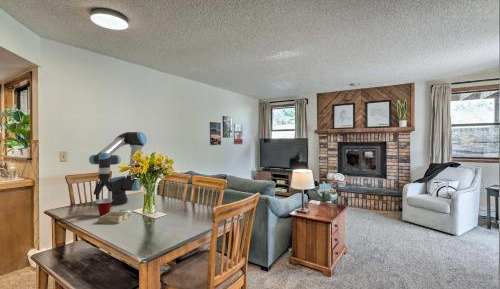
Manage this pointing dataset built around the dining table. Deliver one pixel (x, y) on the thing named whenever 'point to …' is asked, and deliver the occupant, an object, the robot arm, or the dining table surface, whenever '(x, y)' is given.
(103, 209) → the plastic cup
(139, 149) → the robot arm
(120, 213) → the maple open box
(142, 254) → the dining table surface
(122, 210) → the pale green ball
